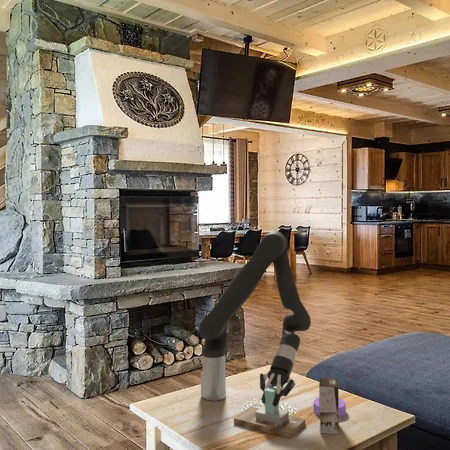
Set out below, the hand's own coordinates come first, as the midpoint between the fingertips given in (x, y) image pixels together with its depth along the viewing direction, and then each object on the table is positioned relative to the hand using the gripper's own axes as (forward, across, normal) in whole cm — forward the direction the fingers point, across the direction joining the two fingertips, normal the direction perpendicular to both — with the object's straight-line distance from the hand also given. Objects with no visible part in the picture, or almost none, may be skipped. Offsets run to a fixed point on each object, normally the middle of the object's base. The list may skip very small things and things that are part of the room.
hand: (269, 404), depth 173 cm
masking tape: (-10, +13, +22) cm, 28 cm away
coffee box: (-1, +18, +13) cm, 22 cm away
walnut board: (+4, -1, +7) cm, 8 cm away
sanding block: (+3, 0, +6) cm, 6 cm away
